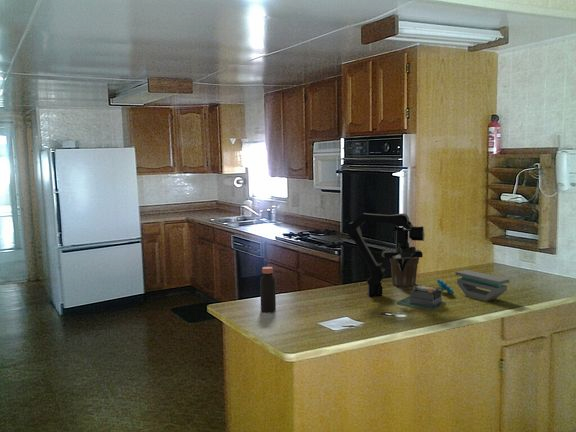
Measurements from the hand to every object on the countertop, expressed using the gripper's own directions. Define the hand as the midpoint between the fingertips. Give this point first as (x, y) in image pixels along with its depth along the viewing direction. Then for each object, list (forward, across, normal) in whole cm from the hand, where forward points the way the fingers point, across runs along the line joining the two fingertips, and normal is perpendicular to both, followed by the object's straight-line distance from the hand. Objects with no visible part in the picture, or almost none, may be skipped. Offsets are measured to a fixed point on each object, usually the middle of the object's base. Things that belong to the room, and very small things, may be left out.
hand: (401, 271), depth 261 cm
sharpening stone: (+13, +38, -5) cm, 41 cm away
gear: (+13, +23, +4) cm, 27 cm away
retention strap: (+6, +7, -13) cm, 16 cm away
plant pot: (+13, +9, +25) cm, 30 cm away
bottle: (+13, -66, -13) cm, 69 cm away
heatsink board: (+13, +6, -12) cm, 18 cm away
